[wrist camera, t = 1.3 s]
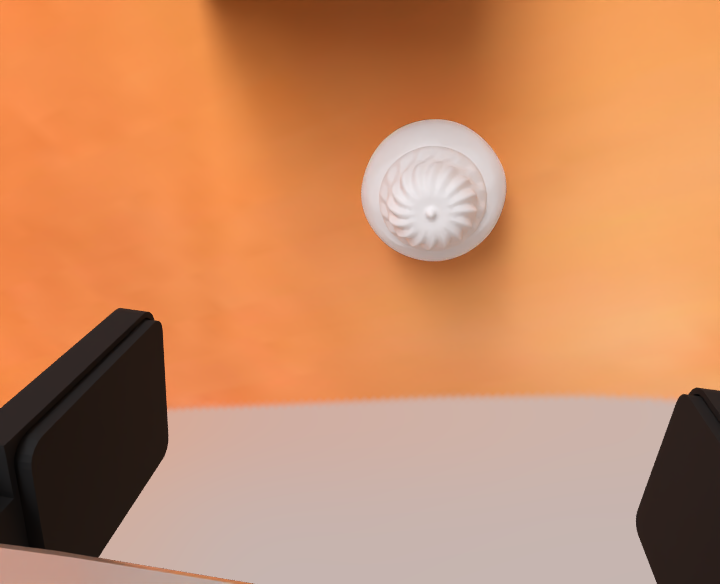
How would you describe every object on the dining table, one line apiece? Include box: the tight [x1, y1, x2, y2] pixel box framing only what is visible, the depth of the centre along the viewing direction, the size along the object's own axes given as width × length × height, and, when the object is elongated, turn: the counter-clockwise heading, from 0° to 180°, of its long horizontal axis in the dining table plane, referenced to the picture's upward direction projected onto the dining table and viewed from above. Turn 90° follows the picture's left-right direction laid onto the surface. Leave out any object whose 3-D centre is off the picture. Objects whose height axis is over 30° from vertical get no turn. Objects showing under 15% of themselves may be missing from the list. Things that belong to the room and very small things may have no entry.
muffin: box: [361, 119, 506, 261], centre depth 26 cm, size 6×6×7 cm
